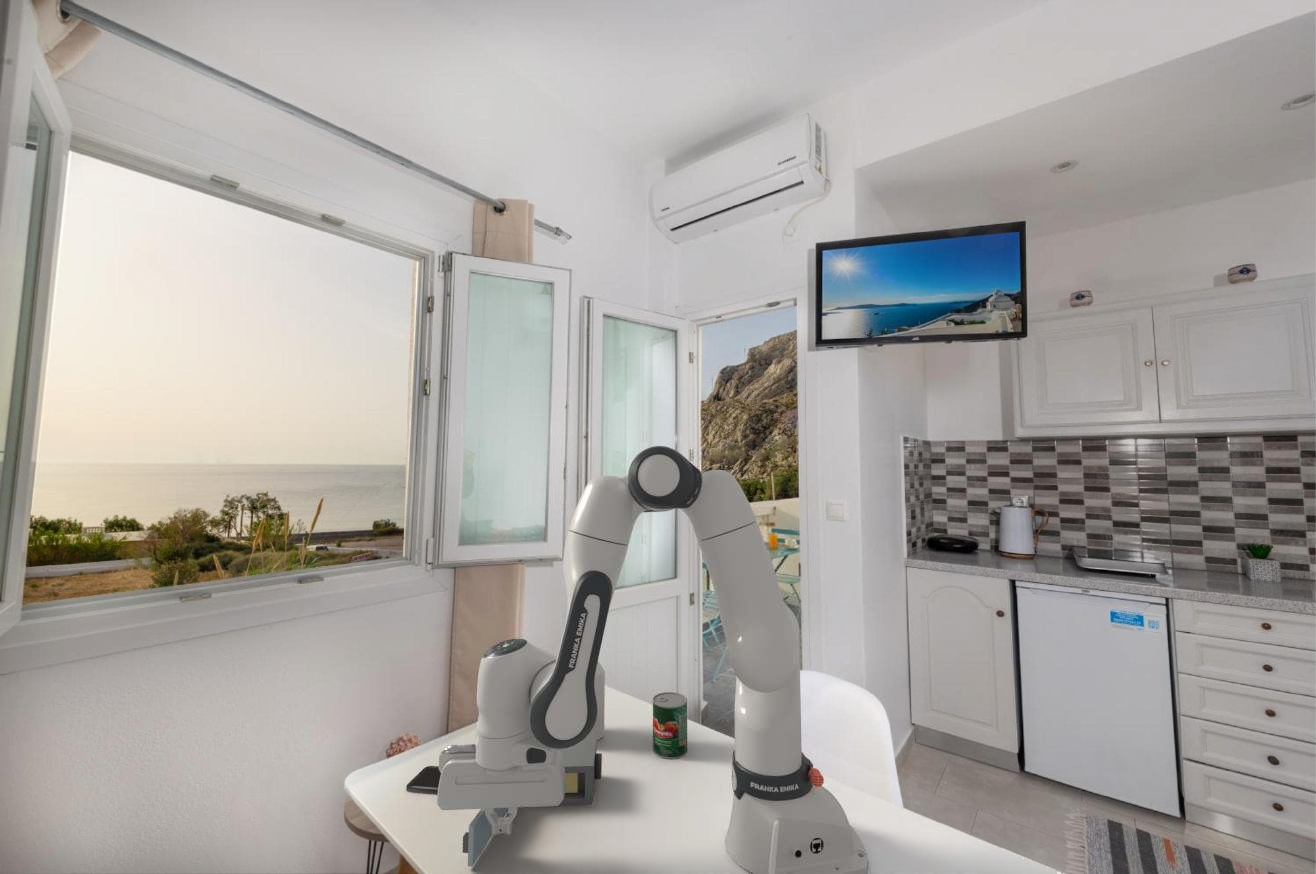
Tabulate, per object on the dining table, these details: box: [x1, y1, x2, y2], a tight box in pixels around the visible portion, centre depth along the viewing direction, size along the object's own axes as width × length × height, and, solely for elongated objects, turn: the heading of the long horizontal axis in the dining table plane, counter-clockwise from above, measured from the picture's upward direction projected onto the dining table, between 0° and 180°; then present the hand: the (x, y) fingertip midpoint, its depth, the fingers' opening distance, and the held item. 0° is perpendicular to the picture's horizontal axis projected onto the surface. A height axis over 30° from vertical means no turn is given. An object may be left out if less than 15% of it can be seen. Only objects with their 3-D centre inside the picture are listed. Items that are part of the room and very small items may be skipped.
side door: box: [462, 808, 508, 868], centre depth 87 cm, size 15×2×6 cm, turn 173°
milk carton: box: [583, 661, 606, 741], centre depth 120 cm, size 7×7×19 cm
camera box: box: [542, 740, 603, 808], centre depth 100 cm, size 17×10×7 cm, turn 93°
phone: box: [405, 765, 441, 795], centre depth 102 cm, size 8×1×15 cm
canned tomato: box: [652, 691, 689, 760], centre depth 115 cm, size 8×8×11 cm
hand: (501, 832), depth 83 cm, fingers closed
